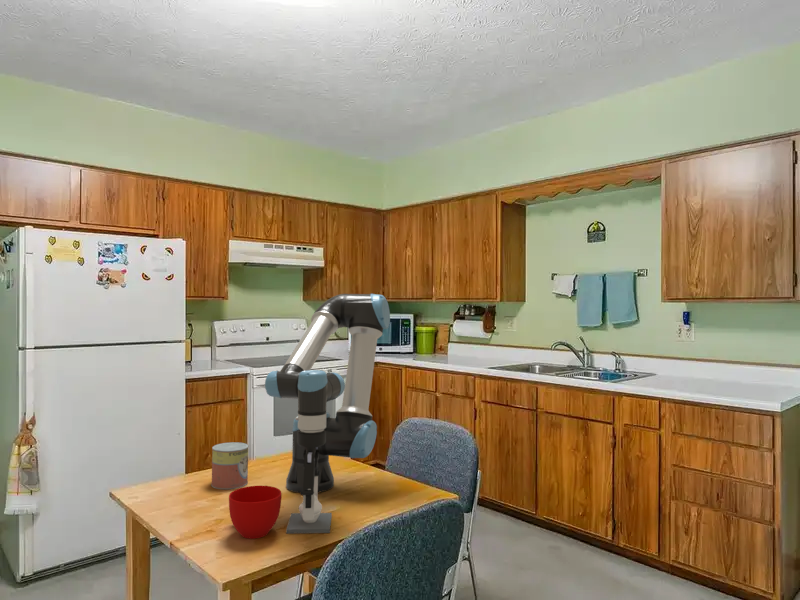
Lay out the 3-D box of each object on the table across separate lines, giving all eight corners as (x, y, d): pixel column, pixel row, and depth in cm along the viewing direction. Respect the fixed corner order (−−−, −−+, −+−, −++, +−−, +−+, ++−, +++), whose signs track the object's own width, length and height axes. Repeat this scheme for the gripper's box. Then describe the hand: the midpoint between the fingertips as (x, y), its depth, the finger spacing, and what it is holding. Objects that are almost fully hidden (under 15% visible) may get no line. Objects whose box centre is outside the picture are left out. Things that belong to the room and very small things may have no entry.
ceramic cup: (255, 515, 150) (255, 478, 150) (290, 533, 138) (291, 494, 139) (210, 528, 141) (211, 489, 141) (245, 549, 129) (246, 506, 129)
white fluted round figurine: (313, 514, 149) (313, 488, 149) (326, 521, 144) (327, 494, 144) (293, 520, 144) (294, 493, 144) (306, 527, 140) (307, 500, 140)
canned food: (237, 490, 170) (238, 452, 170) (204, 487, 172) (205, 449, 172) (253, 479, 181) (254, 443, 181) (222, 477, 183) (223, 441, 183)
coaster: (291, 516, 149) (291, 513, 149) (331, 516, 150) (331, 512, 150) (286, 533, 138) (286, 529, 138) (329, 532, 139) (329, 528, 139)
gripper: (302, 419, 157) (300, 493, 157) (292, 441, 132) (290, 529, 132) (328, 419, 157) (327, 492, 157) (323, 441, 133) (321, 528, 132)
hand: (310, 509), depth 145 cm, fingers open, 13 cm apart
